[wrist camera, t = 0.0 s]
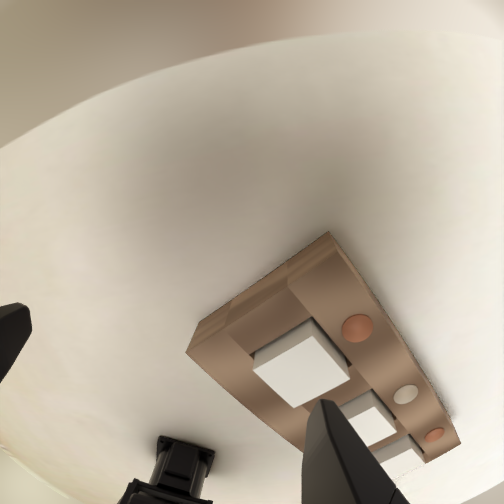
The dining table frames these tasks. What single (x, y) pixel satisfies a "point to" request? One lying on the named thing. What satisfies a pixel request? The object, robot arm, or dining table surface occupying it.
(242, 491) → the dining table surface
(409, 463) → the key
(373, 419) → the key mid
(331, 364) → the key
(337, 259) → the key board
